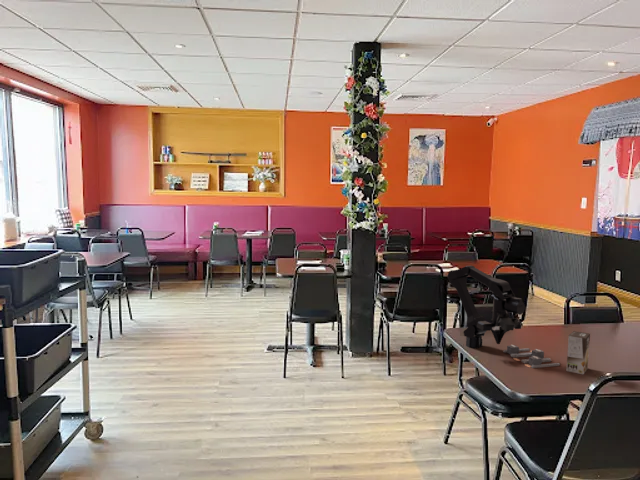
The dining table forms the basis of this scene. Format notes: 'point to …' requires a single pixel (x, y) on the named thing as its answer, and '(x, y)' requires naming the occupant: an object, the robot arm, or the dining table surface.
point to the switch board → (528, 359)
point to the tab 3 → (535, 360)
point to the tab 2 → (538, 353)
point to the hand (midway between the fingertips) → (498, 343)
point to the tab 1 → (512, 349)
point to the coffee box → (578, 352)
